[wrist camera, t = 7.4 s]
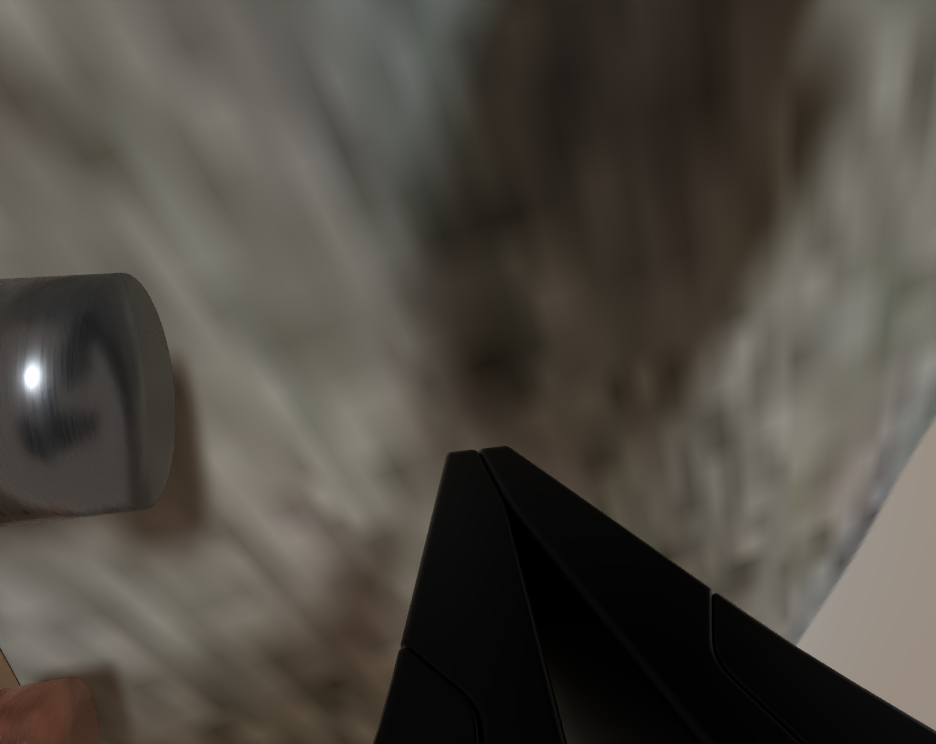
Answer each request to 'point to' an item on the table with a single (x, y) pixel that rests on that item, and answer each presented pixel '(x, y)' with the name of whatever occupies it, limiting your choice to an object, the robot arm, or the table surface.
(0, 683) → the mount
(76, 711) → the brick knob
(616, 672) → the robot arm
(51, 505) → the charcoal knob
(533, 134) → the table surface
